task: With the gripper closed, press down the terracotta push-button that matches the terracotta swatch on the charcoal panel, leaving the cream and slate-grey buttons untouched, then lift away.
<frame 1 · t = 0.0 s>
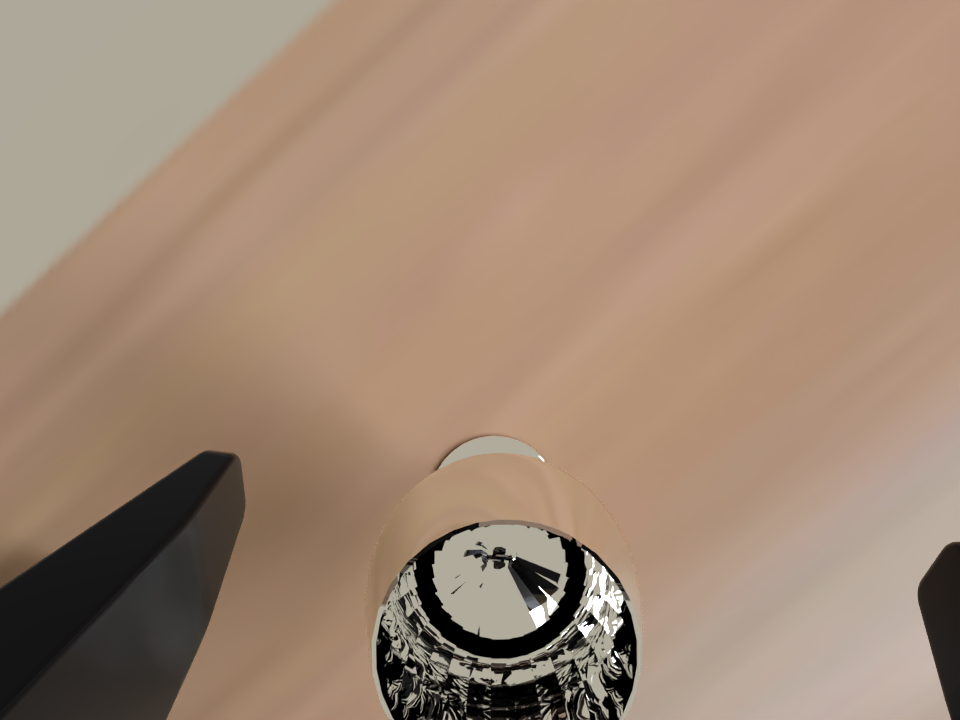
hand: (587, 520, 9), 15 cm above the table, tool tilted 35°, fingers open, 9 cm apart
wineglass: (494, 498, 24), on the table
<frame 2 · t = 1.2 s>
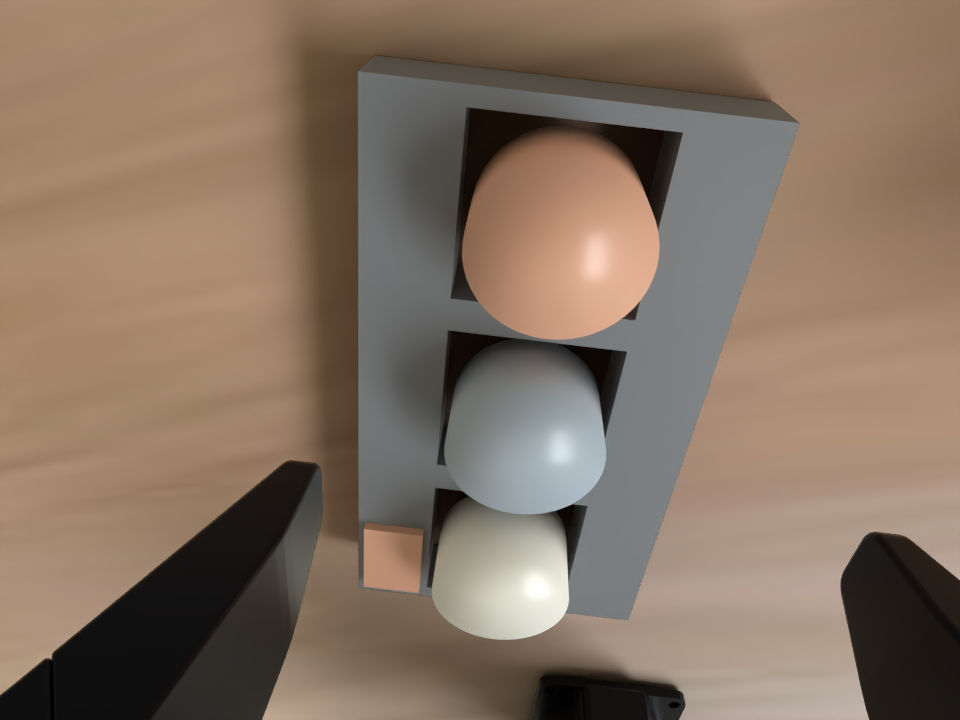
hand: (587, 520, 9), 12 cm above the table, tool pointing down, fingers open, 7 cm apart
cream button: (501, 565, 23), point 3 cm above the table, slide at 0.0 cm
slate button: (525, 426, 20), point 3 cm above the table, slide at 0.0 cm
terracotta button: (558, 233, 17), point 3 cm above the table, slide at 0.0 cm
button panel: (526, 373, 22), on the table
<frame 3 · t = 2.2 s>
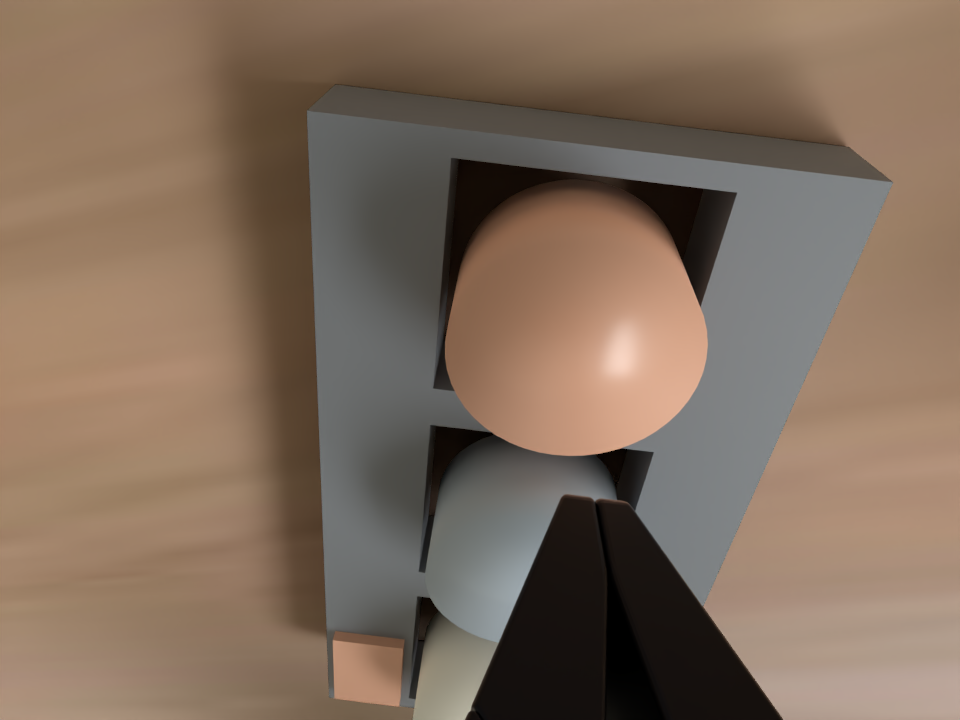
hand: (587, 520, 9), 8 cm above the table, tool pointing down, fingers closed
cream button: (496, 684, 20), point 3 cm above the table, slide at 0.0 cm
slate button: (526, 539, 16), point 3 cm above the table, slide at 0.0 cm
terracotta button: (570, 319, 13), point 3 cm above the table, slide at 0.0 cm
button panel: (527, 461, 18), on the table
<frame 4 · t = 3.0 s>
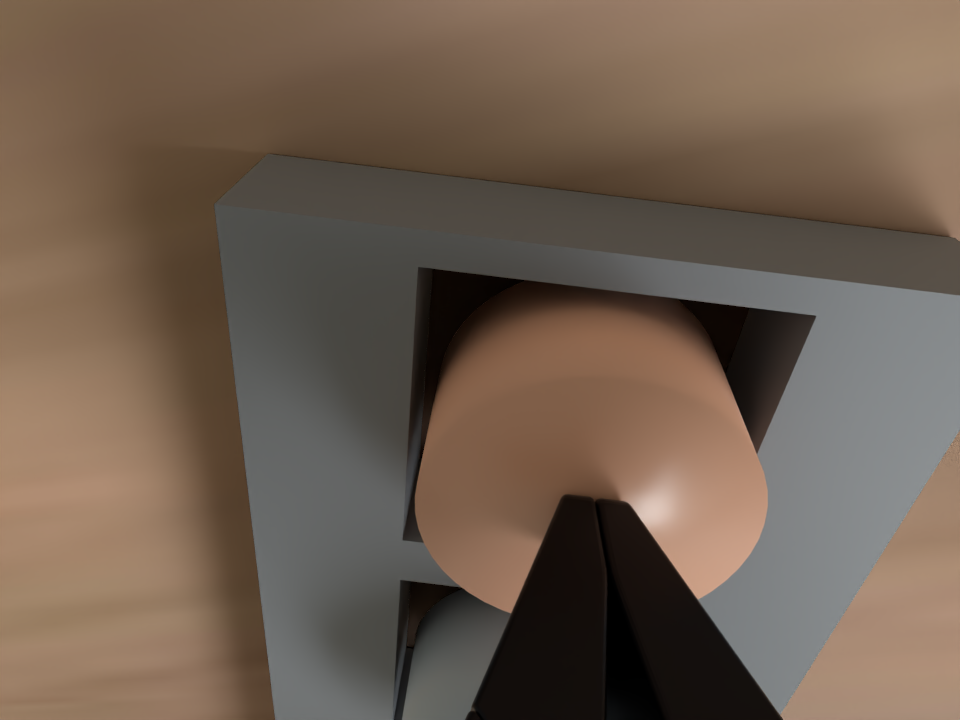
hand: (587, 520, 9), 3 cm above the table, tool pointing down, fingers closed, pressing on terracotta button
slate button: (523, 715, 13), point 3 cm above the table, slide at 0.0 cm
terracotta button: (581, 450, 10), point 2 cm above the table, slide at 0.5 cm, touching gripper
button panel: (525, 593, 15), on the table
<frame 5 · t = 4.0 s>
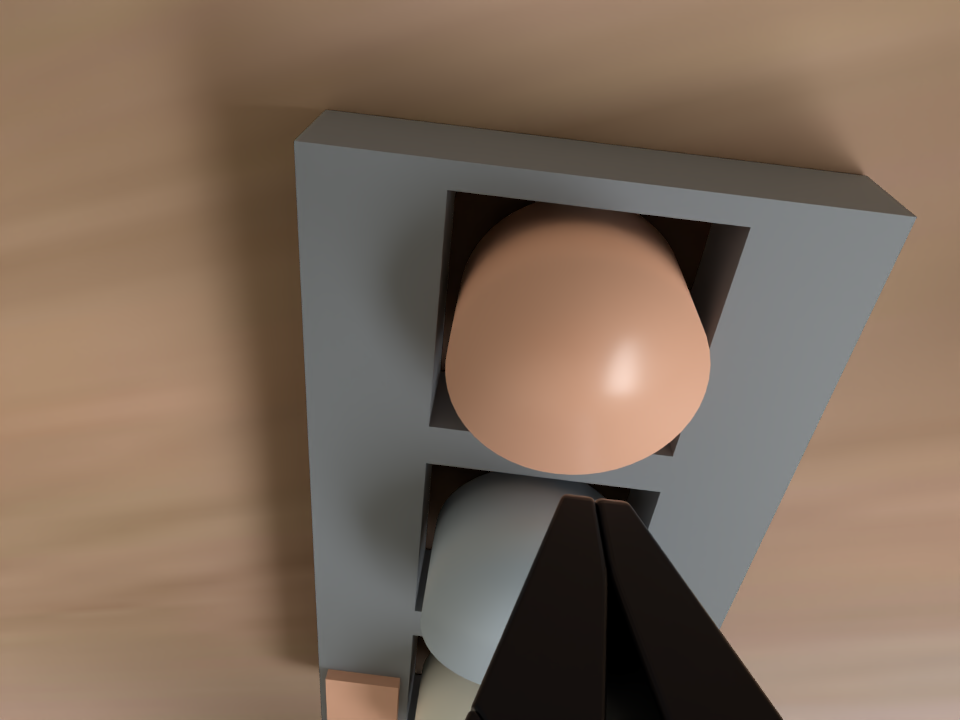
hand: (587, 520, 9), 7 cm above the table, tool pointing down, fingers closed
slate button: (526, 581, 15), point 3 cm above the table, slide at 0.0 cm
terracotta button: (572, 337, 13), point 2 cm above the table, slide at 0.7 cm
button panel: (527, 495, 18), on the table
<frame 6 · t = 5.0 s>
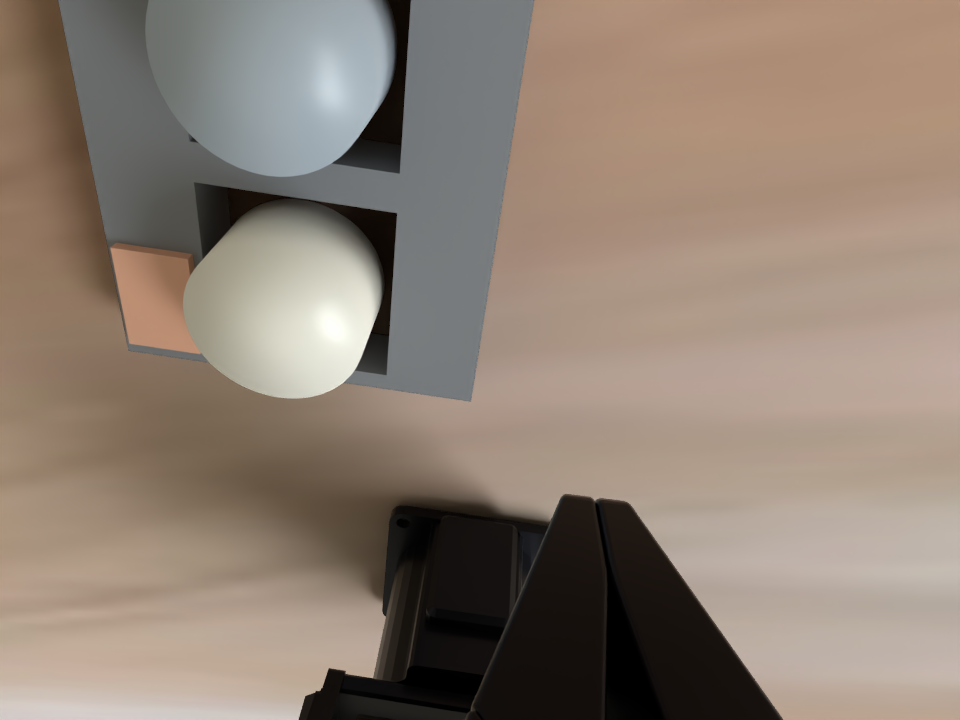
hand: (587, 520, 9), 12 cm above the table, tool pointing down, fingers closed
cream button: (290, 299, 18), point 3 cm above the table, slide at 0.0 cm
slate button: (281, 51, 14), point 3 cm above the table, slide at 0.0 cm
button panel: (316, 27, 17), on the table
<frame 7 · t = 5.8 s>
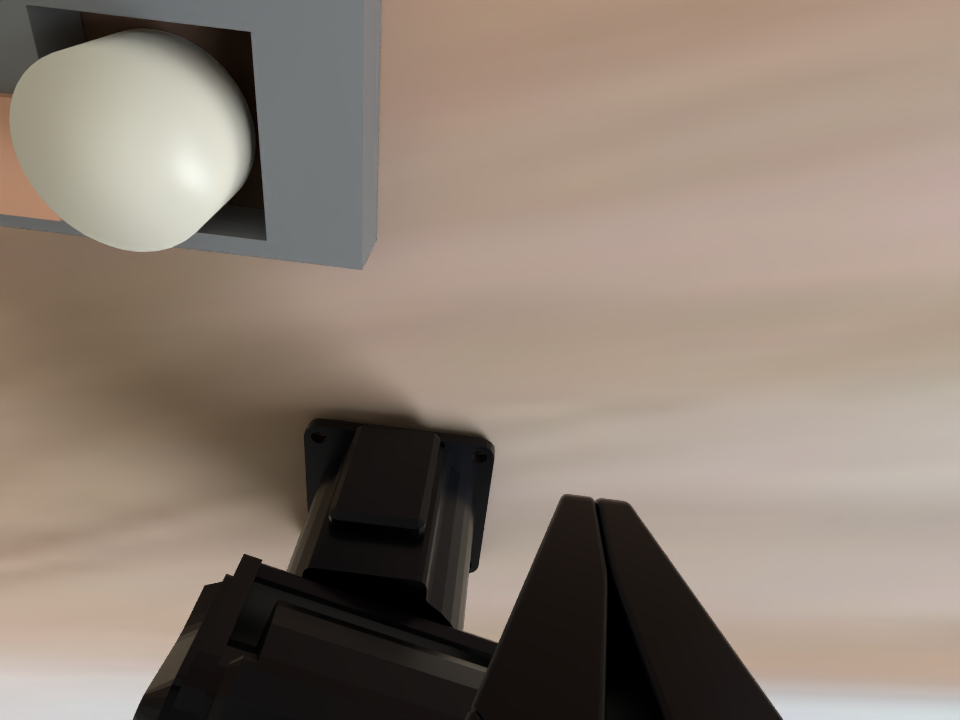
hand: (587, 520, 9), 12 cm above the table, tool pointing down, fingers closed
cream button: (142, 140, 16), point 3 cm above the table, slide at 0.0 cm
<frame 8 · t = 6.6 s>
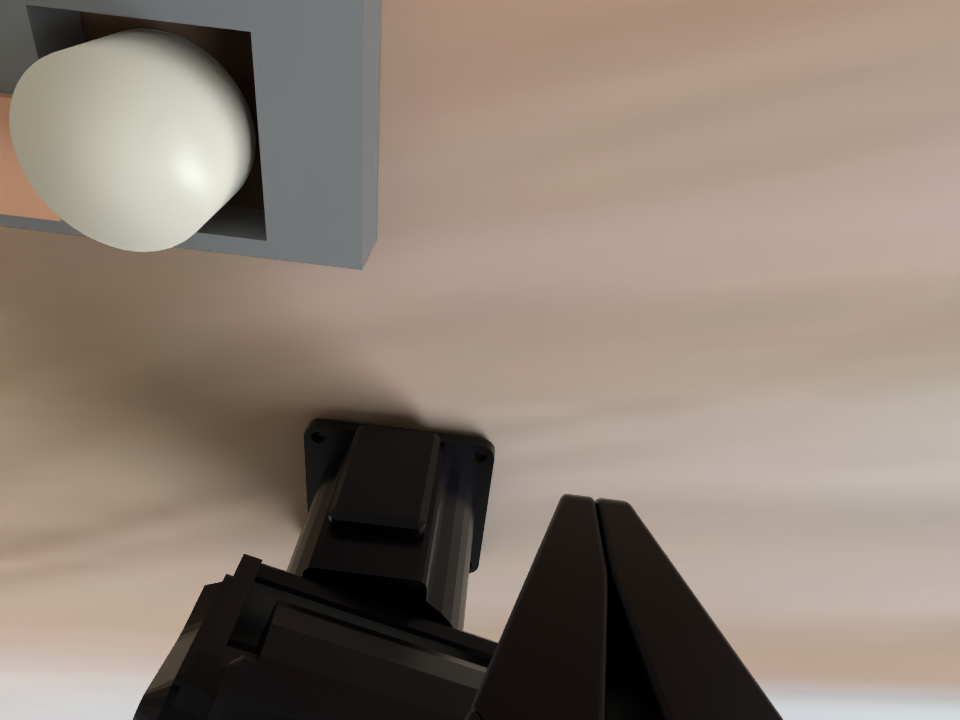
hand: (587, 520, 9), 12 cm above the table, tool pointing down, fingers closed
cream button: (142, 141, 16), point 3 cm above the table, slide at 0.0 cm
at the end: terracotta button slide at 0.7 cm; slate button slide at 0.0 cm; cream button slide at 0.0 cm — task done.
